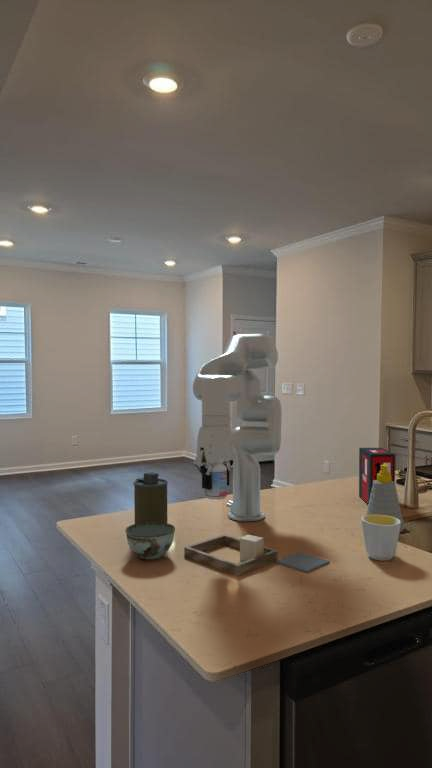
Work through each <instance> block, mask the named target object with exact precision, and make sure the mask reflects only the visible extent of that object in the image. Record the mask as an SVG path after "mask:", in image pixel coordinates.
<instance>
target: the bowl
mask: <svg viewBox="0 0 432 768" xmlns="http://www.w3.org/2000/svg"><path fill="white" fill-rule="evenodd" d="M124 530H125V533H126V540H127V545H128V546H129V548H130V550H131V551H132V552H133V553H134V554H135V555H137V556H138V558H139V559H140V560H141V561H144V562H153V561H154V562H155V561H158V560H160V559H161V558H162V557H163V555H164V554H165V553H167V552H168V550H169V549H170V548H171V547H172V544H173V542H174V537H175V531H176V526H174V524H171V523H169V522H167V523H163V522H144V523H137V524H135V523H134V524H131V525H129V526H127V527H126V528H125V529H124Z"/></svg>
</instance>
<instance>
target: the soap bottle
mask: <svg viewBox="0 0 432 768" xmlns="http://www.w3.org/2000/svg"><path fill="white" fill-rule="evenodd" d="M380 466H381V471H379V473H378V474H377V480H375V481H374V482H373V487H372V490H371V494H370V499H369V504H368V505H367V510H366V515H386V516H391V517H395V518H397V519H399V520H400V521H401V525H400V531H399V533H401V532H403V531H404V530H405V525H404V520H403V516H402V511H401V506H400V501H399V495H398V491H397V490H398V489H397V487H396V486H397V485H396V483H394V482H393V481H391V474H389V472H388V465H386V463H384V464H383V465H380Z"/></svg>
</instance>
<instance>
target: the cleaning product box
mask: <svg viewBox="0 0 432 768" xmlns="http://www.w3.org/2000/svg"><path fill="white" fill-rule="evenodd" d="M358 451H359V452H358V457H359V458H358V460H359V461H358V480H359V481H358V498H359V497H360V498H361V499H362V500H363V501H364V502H365V503H366V504H365V503H364V502H363V501H362V500H361V499H360V498H359V499H360V500H361V501H362V502H363V503H364V504H365V505H367V506H368V504H369V499H370V494H371V490H372V487H373V482H374V481H375V480H377V474H378V473H379V471H381V466H380V465H383V464H384V463H386V465H388V472H389V474H391V481H393V482H394V483H395V482H396V454H395V453H393V452H391V451H389V450H388V449H385V448H384V447H359V450H358ZM395 484H396V483H395Z"/></svg>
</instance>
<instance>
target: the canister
mask: <svg viewBox="0 0 432 768" xmlns="http://www.w3.org/2000/svg"><path fill="white" fill-rule="evenodd" d="M159 476H160V474H159V473H156V472H154V471H150V472H145V473H143V477H141V478H140V477H139V478H136V480H135V481H134V482H133V483H132V484H133V486H134V488H133V489H134V494H133V495H134V502H133V503H134V524H137V523H144V522H163V523H168V484H169V481H168V480H167V479H163V478H159Z"/></svg>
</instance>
